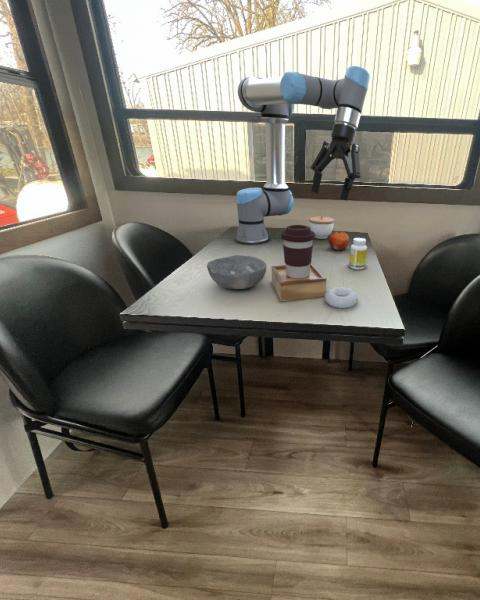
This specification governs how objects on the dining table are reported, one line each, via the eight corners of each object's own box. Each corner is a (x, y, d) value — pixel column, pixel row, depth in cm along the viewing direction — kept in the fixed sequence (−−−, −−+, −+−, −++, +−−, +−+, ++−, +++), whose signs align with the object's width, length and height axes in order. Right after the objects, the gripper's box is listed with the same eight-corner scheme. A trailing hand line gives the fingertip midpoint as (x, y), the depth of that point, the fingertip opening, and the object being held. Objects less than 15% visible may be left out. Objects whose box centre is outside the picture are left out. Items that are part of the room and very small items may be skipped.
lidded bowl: (307, 233, 158) (308, 212, 153) (331, 233, 160) (332, 212, 155) (309, 240, 147) (310, 217, 142) (334, 240, 149) (336, 218, 144)
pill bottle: (366, 266, 117) (370, 238, 112) (362, 271, 112) (365, 242, 107) (352, 263, 119) (354, 236, 114) (346, 268, 114) (349, 240, 109)
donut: (353, 295, 93) (322, 294, 92) (355, 285, 92) (323, 284, 91) (360, 310, 84) (325, 310, 83) (361, 300, 83) (326, 299, 82)
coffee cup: (309, 282, 88) (310, 232, 81) (277, 279, 89) (276, 229, 83) (316, 271, 96) (318, 224, 90) (287, 267, 98) (286, 222, 91)
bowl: (276, 291, 93) (275, 267, 90) (219, 303, 85) (216, 277, 81) (255, 272, 107) (253, 250, 103) (204, 281, 98) (201, 258, 94)
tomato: (347, 252, 132) (348, 234, 128) (326, 250, 133) (327, 233, 129) (349, 246, 140) (350, 229, 136) (329, 244, 141) (330, 228, 137)
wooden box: (271, 283, 99) (271, 266, 96) (311, 279, 103) (312, 262, 100) (281, 301, 87) (280, 283, 84) (325, 296, 92) (326, 278, 89)
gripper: (384, 132, 88) (363, 205, 95) (325, 129, 103) (310, 192, 110) (370, 123, 83) (349, 200, 89) (310, 121, 98) (296, 187, 104)
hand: (328, 196), depth 100 cm, fingers open, 13 cm apart
